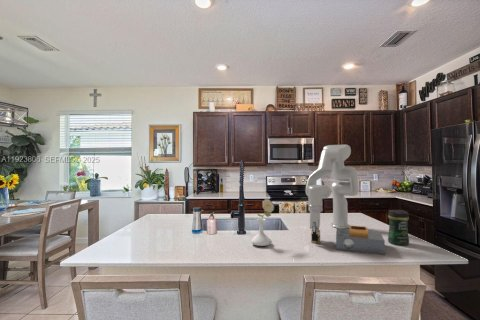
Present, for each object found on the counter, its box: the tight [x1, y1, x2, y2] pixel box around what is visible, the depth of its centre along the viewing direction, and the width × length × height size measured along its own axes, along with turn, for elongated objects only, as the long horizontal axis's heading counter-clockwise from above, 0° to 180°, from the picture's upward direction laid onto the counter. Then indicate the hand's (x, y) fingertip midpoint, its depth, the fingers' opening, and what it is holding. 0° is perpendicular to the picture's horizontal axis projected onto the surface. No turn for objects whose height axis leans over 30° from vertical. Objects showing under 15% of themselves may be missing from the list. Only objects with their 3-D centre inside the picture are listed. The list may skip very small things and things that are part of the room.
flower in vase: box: [250, 198, 275, 247], centre depth 141 cm, size 13×11×25 cm
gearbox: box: [335, 224, 386, 256], centre depth 136 cm, size 19×22×10 cm
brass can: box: [310, 229, 321, 245], centre depth 144 cm, size 5×5×8 cm
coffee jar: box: [387, 209, 410, 246], centre depth 141 cm, size 10×8×19 cm
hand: (315, 238), depth 144 cm, fingers open, 9 cm apart
